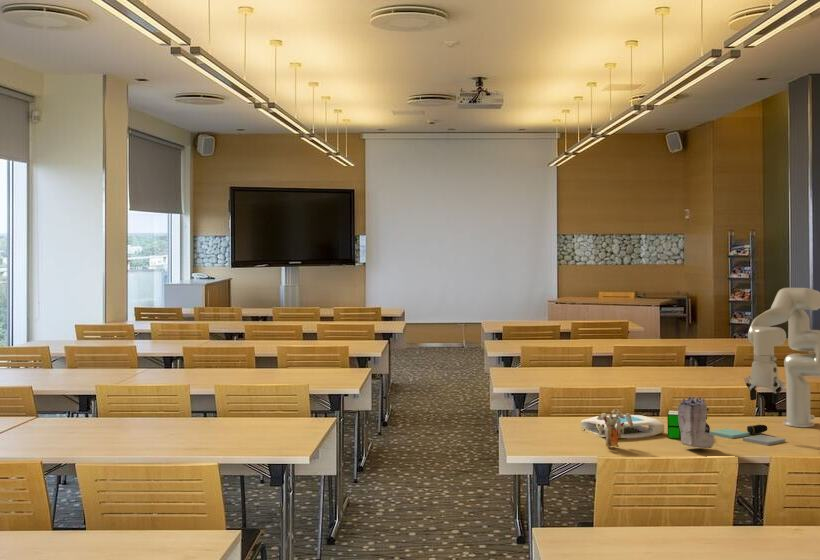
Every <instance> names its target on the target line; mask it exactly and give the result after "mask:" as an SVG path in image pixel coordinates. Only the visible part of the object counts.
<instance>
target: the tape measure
mask: <svg viewBox="0 0 820 560" xmlns="http://www.w3.org/2000/svg"><path fill="white" fill-rule="evenodd" d="M746 430H747V431H746V432H749V433H750V435H751V434H752V436H756V435H760V434H762V433H765V432H767V431H768V426H767V425H766V424H754V425H748V426H747V427H746Z"/></svg>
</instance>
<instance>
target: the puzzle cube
mask: <svg viewBox="0 0 820 560" xmlns="http://www.w3.org/2000/svg"><path fill="white" fill-rule="evenodd" d="M667 411H668V412H667V438H668V439H675V440H681V432H680V428H679V422H678V410H667Z"/></svg>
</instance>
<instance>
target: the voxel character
mask: <svg viewBox="0 0 820 560" xmlns="http://www.w3.org/2000/svg"><path fill="white" fill-rule="evenodd" d="M614 414H615V415H616V417H613V415H614ZM607 415H609V417H610V418H608V417H607ZM624 415H626V420H627V422H628V424H630V426H633V423H632V419H631V415H632V414H631V413H625V414H623V413H622V412H621V411H620V410H619V409H618V408H616V409H613V410H611V411H610V412H609V413H606V412H602V413H601V414H600V415H597V416H598V418H597V419H598V420H605V424H606V429H604V424H602V425H600V424H598V425H597V427H598V429H599V430H598V434H599V435H605V437H606V438H605V447H607V448H611V447H614V448H619V444H618V441H619V439H618V438H621V434H625V433H624V432H625V429H626V428H625V424H624V422H623V423H621V419H620V418H622V419H625V416H624ZM618 417H620V418H618ZM616 423H617V429H616V428H615V425H616ZM603 429H604V430H603Z"/></svg>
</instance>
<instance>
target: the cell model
mask: <svg viewBox="0 0 820 560" xmlns="http://www.w3.org/2000/svg"><path fill="white" fill-rule="evenodd" d="M705 399H706V398H705V397H701V396H699V397H693V396H691V397H690V396H689V397H688V398H687V399H685V397H682V401H681V402H680V403H679V402H678V405H677V408H678V410H677V411H678V422H679V428H680V432H681V438H680V442H681V443H680V444H682V445H684V446H687V447H692V448H700V449H701V448H702V449H711V448H712V447H713V446H714V442H715V435H712V434H709V432H710V431H711V430H710V429H711V427H710V425H709V424H708V423H707V419H708V417H707V413H708V412H709V407H708V405H707V403H706V402H705V401H706V400H705Z"/></svg>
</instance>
